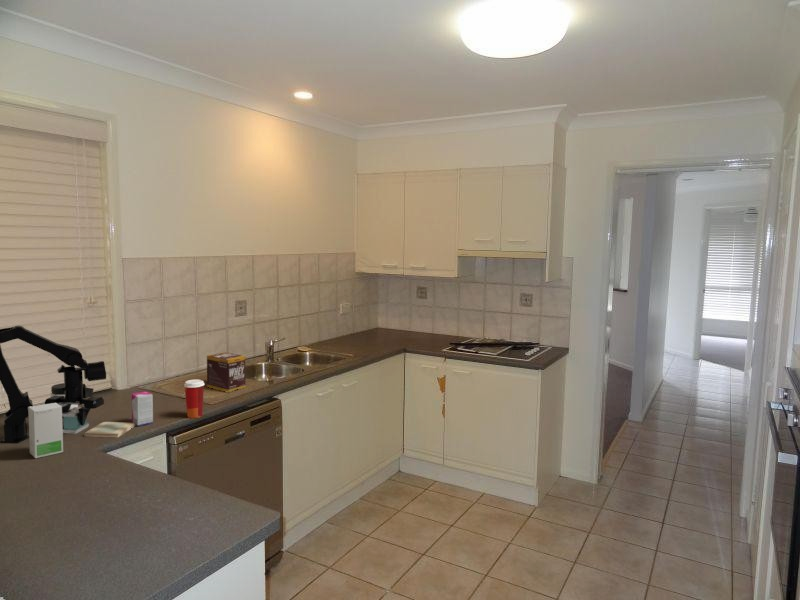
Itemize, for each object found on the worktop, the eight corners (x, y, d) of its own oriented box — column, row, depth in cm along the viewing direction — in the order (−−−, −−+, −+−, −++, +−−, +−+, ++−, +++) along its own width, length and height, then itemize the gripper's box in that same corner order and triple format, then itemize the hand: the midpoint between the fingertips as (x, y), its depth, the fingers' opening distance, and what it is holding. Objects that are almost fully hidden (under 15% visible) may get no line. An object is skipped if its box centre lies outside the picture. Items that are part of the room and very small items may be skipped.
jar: (47, 416, 211) (46, 386, 209) (69, 410, 218) (67, 381, 216) (60, 420, 206) (59, 389, 205) (82, 414, 213) (80, 384, 212)
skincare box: (34, 459, 170) (32, 411, 169) (29, 453, 175) (26, 406, 173) (64, 452, 177) (62, 405, 175) (58, 446, 181) (56, 401, 179)
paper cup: (200, 411, 220) (199, 378, 218) (208, 416, 214) (207, 381, 213) (180, 415, 214) (180, 381, 213) (189, 420, 209) (188, 385, 207)
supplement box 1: (153, 423, 205) (152, 393, 204) (137, 427, 201) (136, 397, 200) (147, 419, 209) (146, 390, 208) (131, 423, 205) (130, 393, 204)
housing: (75, 433, 193) (75, 414, 192) (62, 433, 193) (61, 413, 192) (88, 426, 200) (88, 407, 200) (75, 426, 201) (74, 407, 200)
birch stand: (117, 437, 190) (117, 433, 190) (84, 436, 191) (84, 432, 190) (135, 425, 202) (135, 422, 202) (104, 424, 202) (104, 421, 202)
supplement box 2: (228, 393, 247) (228, 359, 245) (206, 387, 255) (206, 355, 253) (246, 388, 255) (245, 355, 254) (224, 383, 264) (224, 351, 262)
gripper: (111, 378, 202) (113, 418, 204) (63, 376, 203) (65, 416, 205) (93, 386, 191) (95, 428, 193) (42, 384, 192) (44, 426, 194)
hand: (75, 424), depth 197 cm, fingers closed on housing, 5 cm apart
